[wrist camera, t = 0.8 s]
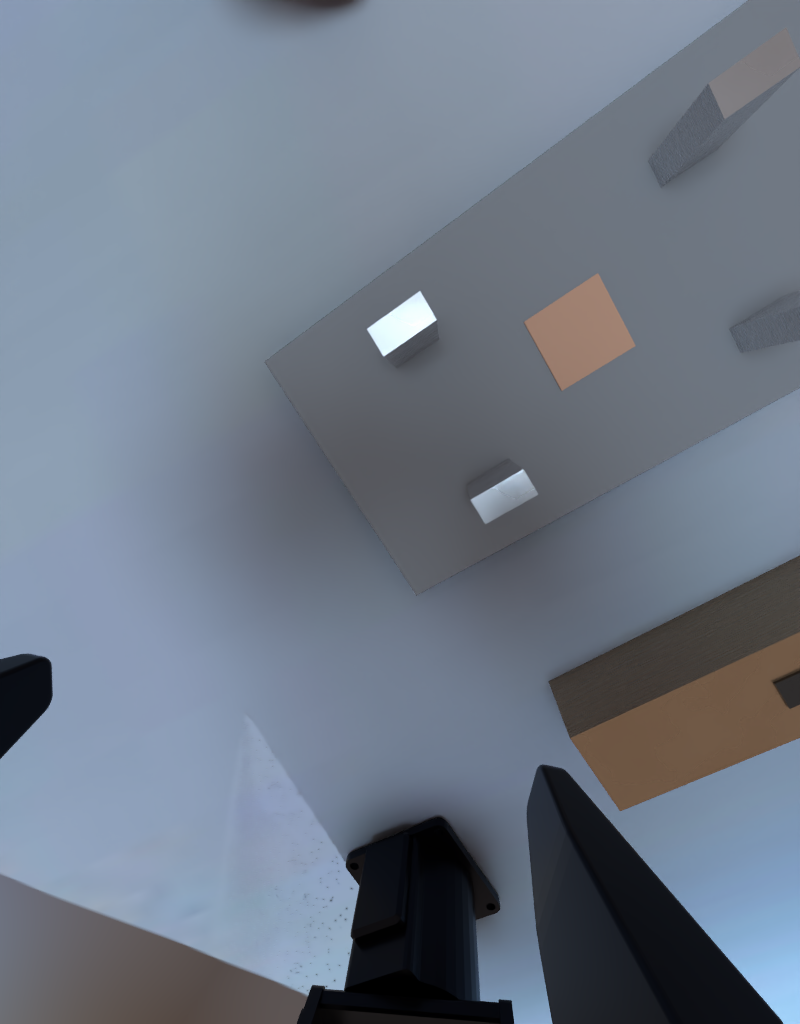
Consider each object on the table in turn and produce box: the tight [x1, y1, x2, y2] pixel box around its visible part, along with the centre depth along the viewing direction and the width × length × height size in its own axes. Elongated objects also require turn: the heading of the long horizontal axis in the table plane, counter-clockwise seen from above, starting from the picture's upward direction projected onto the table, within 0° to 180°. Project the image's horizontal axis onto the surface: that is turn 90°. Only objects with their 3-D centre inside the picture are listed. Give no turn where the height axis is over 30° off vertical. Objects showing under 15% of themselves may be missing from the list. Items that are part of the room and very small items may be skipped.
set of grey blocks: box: [367, 28, 800, 524], centre depth 14 cm, size 8×13×4 cm, turn 122°
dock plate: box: [265, 0, 800, 596], centre depth 16 cm, size 12×22×1 cm, turn 122°
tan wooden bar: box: [549, 556, 800, 811], centre depth 17 cm, size 4×16×4 cm, turn 125°
